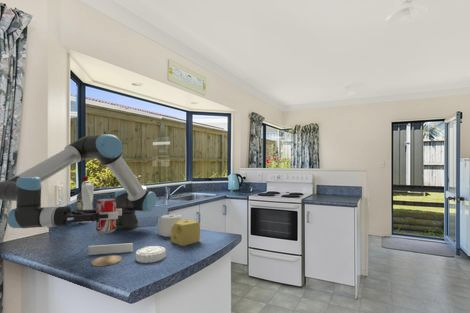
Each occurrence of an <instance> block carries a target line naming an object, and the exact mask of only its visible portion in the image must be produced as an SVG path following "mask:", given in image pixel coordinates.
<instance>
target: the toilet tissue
mask: <svg viewBox="0 0 470 313" xmlns="http://www.w3.org/2000/svg"><path fill="white" fill-rule="evenodd" d="M181 220H182V215H181V214H177V213H172V214H171V213H170V214H164V215H162V216H159V215H158V234H159V235H160V236H162V237H165V238H166V237H169V238H171V235H172V232H171V229H172V226H174V224H175V223H176V222H177V221H181Z"/></svg>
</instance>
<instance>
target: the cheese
mask: <svg viewBox="0 0 470 313" xmlns="http://www.w3.org/2000/svg"><path fill="white" fill-rule="evenodd" d="M200 225H201V224H200V222H199V221H196V220H192V219H181V221H177V222H176V223H175V224H174V226H172V229H171V232H172V235H171V237H170V242H171V243H174V244H176V245H179V246H182V247H185V246H188V245H191V244H194V243H198V242H200V238H201V226H200Z"/></svg>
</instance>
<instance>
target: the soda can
mask: <svg viewBox="0 0 470 313" xmlns="http://www.w3.org/2000/svg"><path fill="white" fill-rule="evenodd" d="M104 212H116V202H115V198H99V199H97V202H96V213H99V214H100V213H104ZM95 224H96V225H95V227H96V228H95V229H96V230H95V231H96V232H97V233H98V234H109V233H110V234H111V233H113V232H115V231H116V230H115V229H116V219H107V220H100V219H99V222H95Z"/></svg>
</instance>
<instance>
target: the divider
mask: <svg viewBox="0 0 470 313" xmlns="http://www.w3.org/2000/svg"><path fill="white" fill-rule="evenodd" d="M133 252H134V243H133V242H129V243H128V242H127V243H114V244H113V243H112V244H98V245H96V244H95V245H89V246H88V256H92V255H106V254H107V255H108V254H118V253H121V254H122V253H133Z"/></svg>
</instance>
